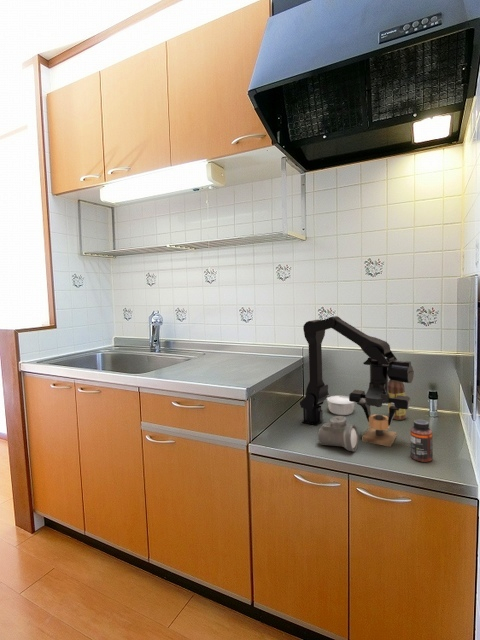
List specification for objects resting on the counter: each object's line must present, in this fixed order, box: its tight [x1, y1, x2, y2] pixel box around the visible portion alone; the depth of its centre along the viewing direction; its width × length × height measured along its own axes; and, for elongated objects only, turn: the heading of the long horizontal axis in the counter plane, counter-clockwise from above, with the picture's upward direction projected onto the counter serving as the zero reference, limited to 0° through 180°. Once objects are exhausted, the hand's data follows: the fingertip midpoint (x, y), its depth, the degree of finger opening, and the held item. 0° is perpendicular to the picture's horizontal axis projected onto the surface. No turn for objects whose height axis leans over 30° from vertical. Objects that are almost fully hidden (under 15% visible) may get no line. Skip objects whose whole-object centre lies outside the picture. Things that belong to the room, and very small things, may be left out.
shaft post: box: [361, 414, 397, 448], centre depth 123 cm, size 9×9×8 cm
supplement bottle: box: [410, 418, 434, 463], centre depth 108 cm, size 6×6×11 cm
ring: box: [368, 414, 391, 431], centre depth 123 cm, size 6×6×3 cm
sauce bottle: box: [387, 379, 407, 421], centre depth 141 cm, size 7×6×20 cm
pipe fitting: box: [317, 415, 359, 452], centre depth 118 cm, size 12×8×10 cm, turn 55°
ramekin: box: [326, 395, 356, 416], centre depth 151 cm, size 11×11×5 cm
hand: (379, 423), depth 123 cm, fingers closed on ring, 6 cm apart
